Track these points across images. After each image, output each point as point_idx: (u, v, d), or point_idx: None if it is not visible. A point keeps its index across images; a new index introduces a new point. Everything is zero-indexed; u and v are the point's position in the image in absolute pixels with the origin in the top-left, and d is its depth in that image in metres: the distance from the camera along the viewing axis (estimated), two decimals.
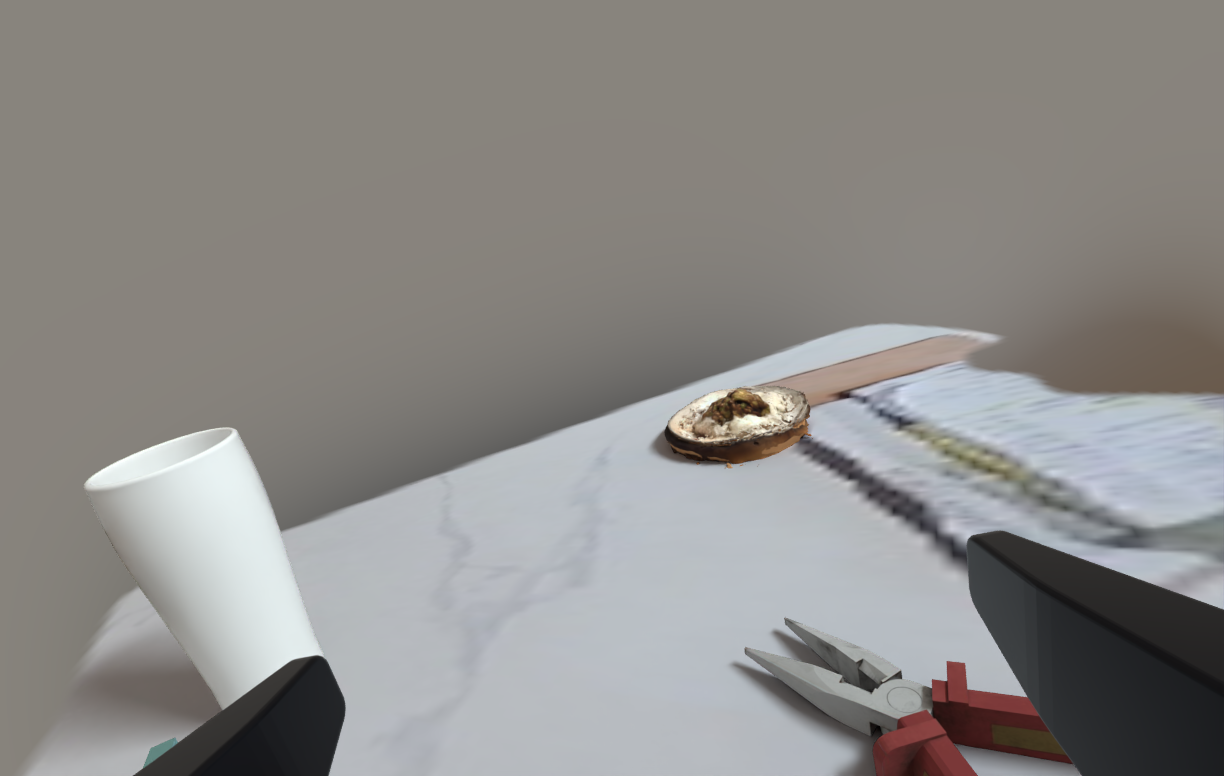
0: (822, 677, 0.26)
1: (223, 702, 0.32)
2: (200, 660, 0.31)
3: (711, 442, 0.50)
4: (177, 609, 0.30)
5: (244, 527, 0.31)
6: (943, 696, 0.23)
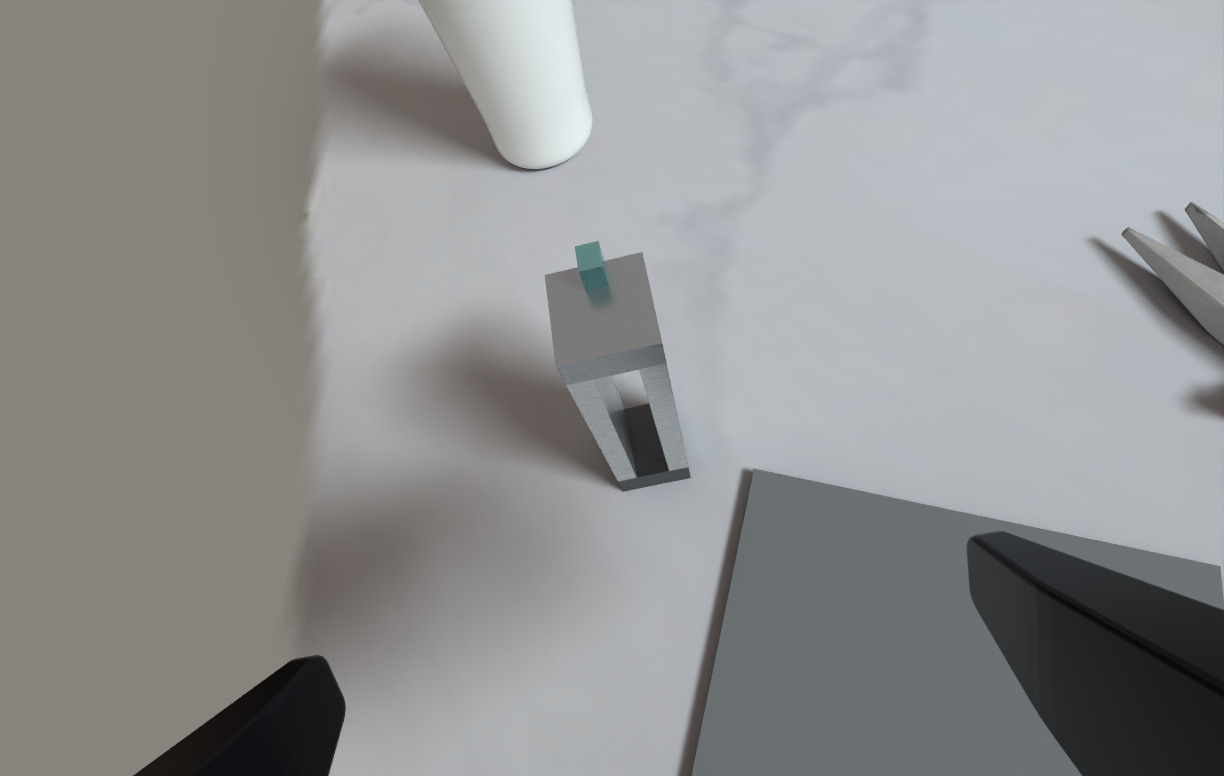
0: None
1: (501, 141, 0.31)
2: (482, 94, 0.28)
3: None
4: (463, 31, 0.25)
5: None
6: None
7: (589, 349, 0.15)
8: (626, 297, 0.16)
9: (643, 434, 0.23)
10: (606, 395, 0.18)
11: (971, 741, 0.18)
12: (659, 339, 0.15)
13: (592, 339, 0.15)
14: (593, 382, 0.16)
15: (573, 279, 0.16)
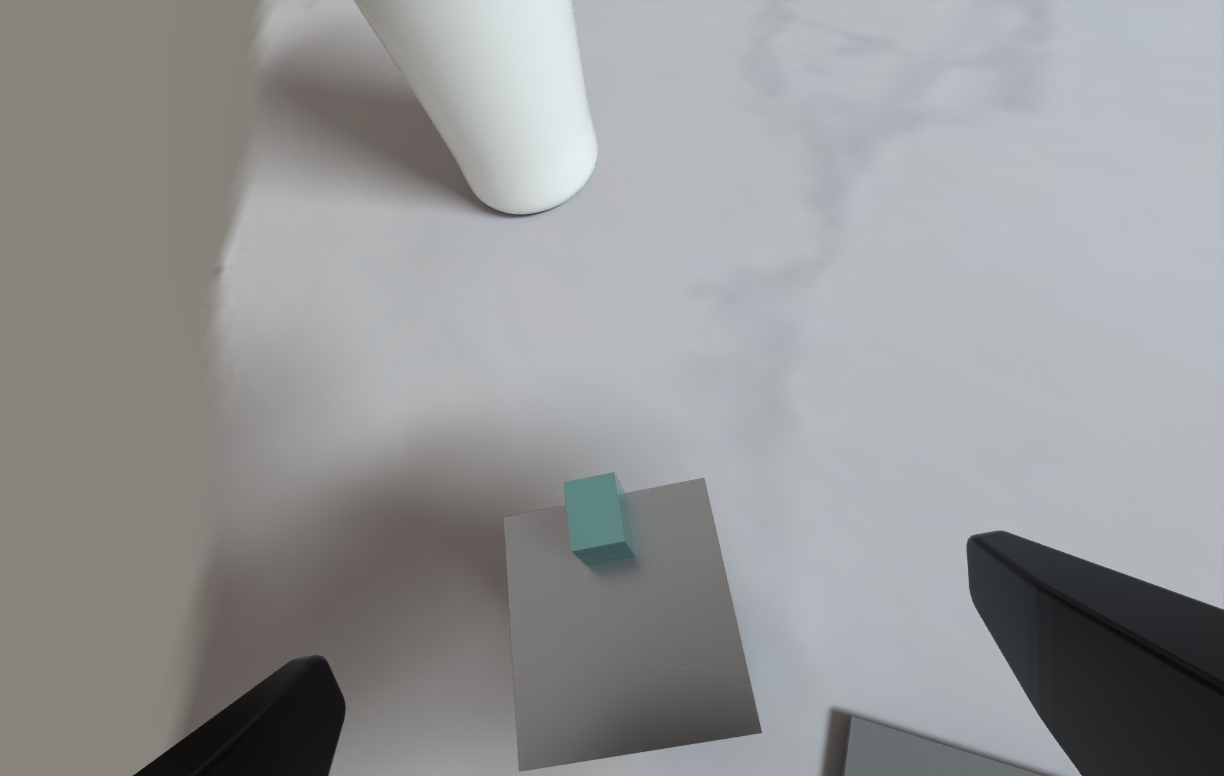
0: None
1: (474, 178, 0.23)
2: (443, 117, 0.20)
3: None
4: (406, 27, 0.17)
5: None
6: None
7: (594, 730, 0.07)
8: (674, 592, 0.07)
9: None
10: None
11: None
12: (755, 722, 0.06)
13: (601, 701, 0.07)
14: None
15: (561, 533, 0.08)
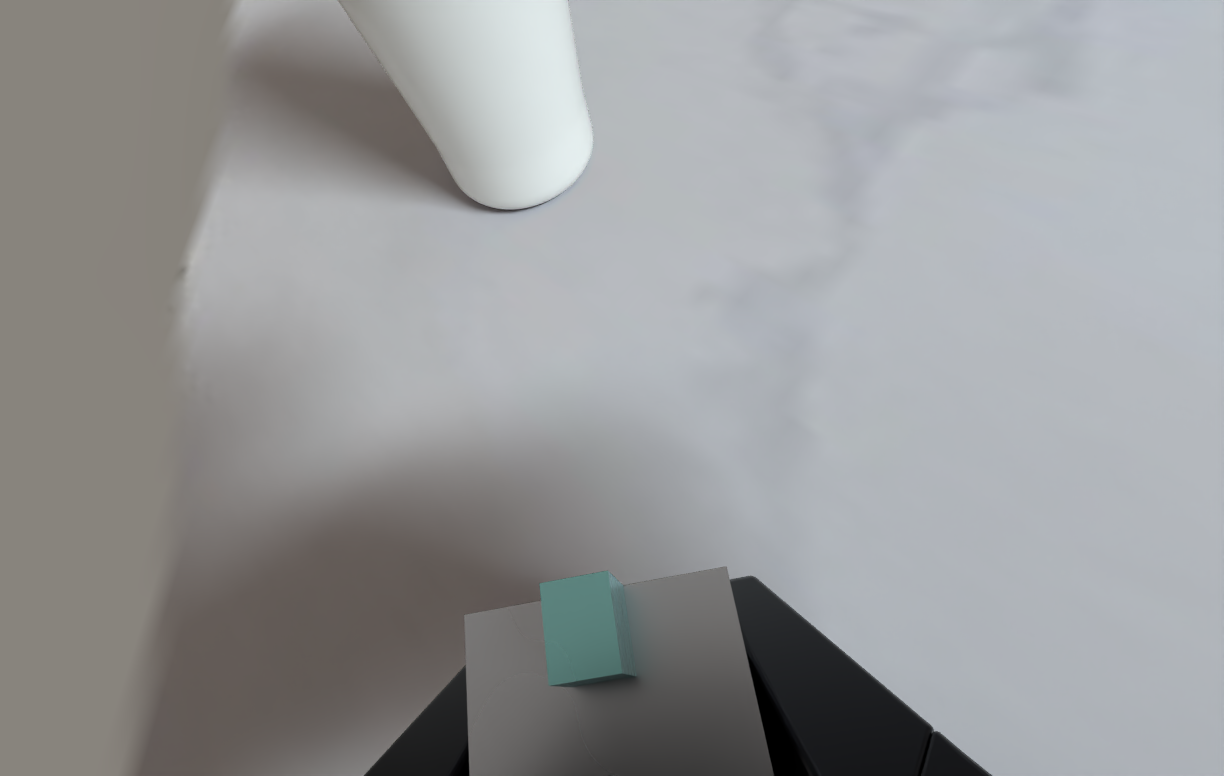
0: None
1: (457, 170, 0.21)
2: (420, 101, 0.18)
3: None
4: None
5: None
6: None
7: None
8: (688, 730, 0.05)
9: None
10: None
11: None
12: None
13: None
14: None
15: (539, 638, 0.06)
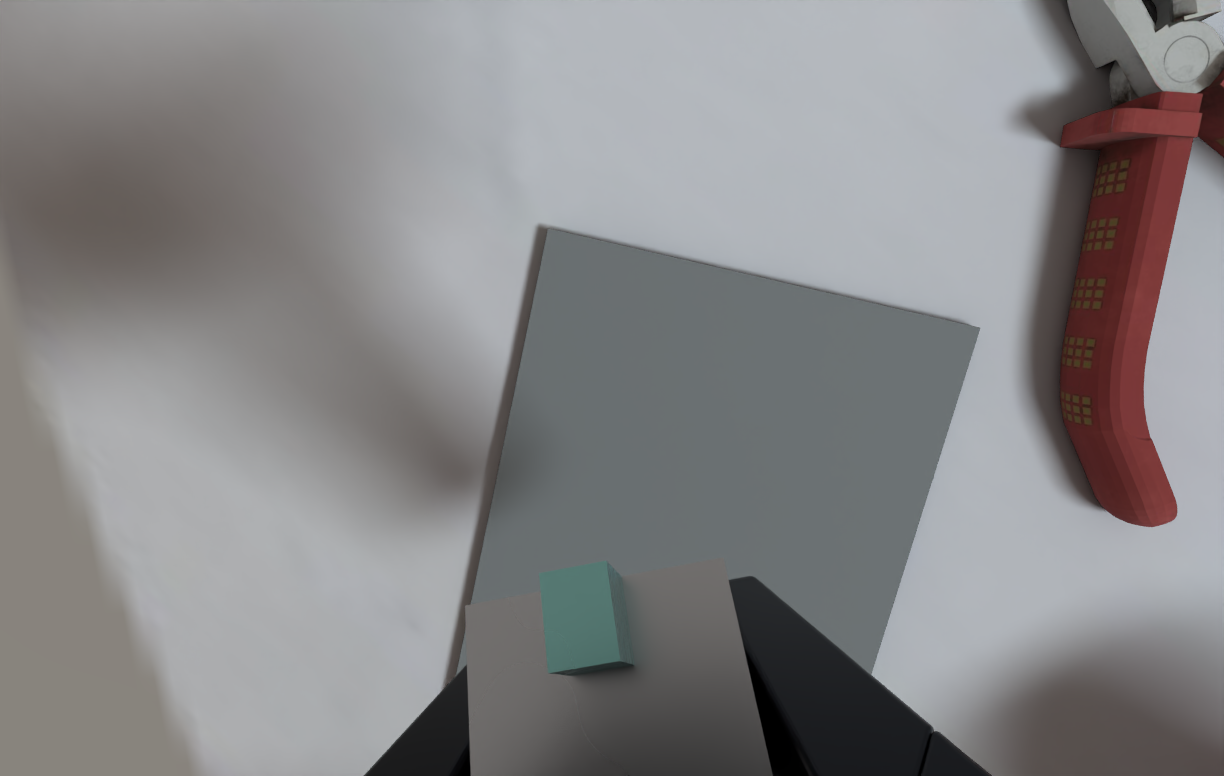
0: None
1: None
2: None
3: None
4: None
5: None
6: None
7: None
8: (686, 717, 0.05)
9: None
10: None
11: (727, 484, 0.21)
12: None
13: None
14: None
15: (538, 628, 0.06)
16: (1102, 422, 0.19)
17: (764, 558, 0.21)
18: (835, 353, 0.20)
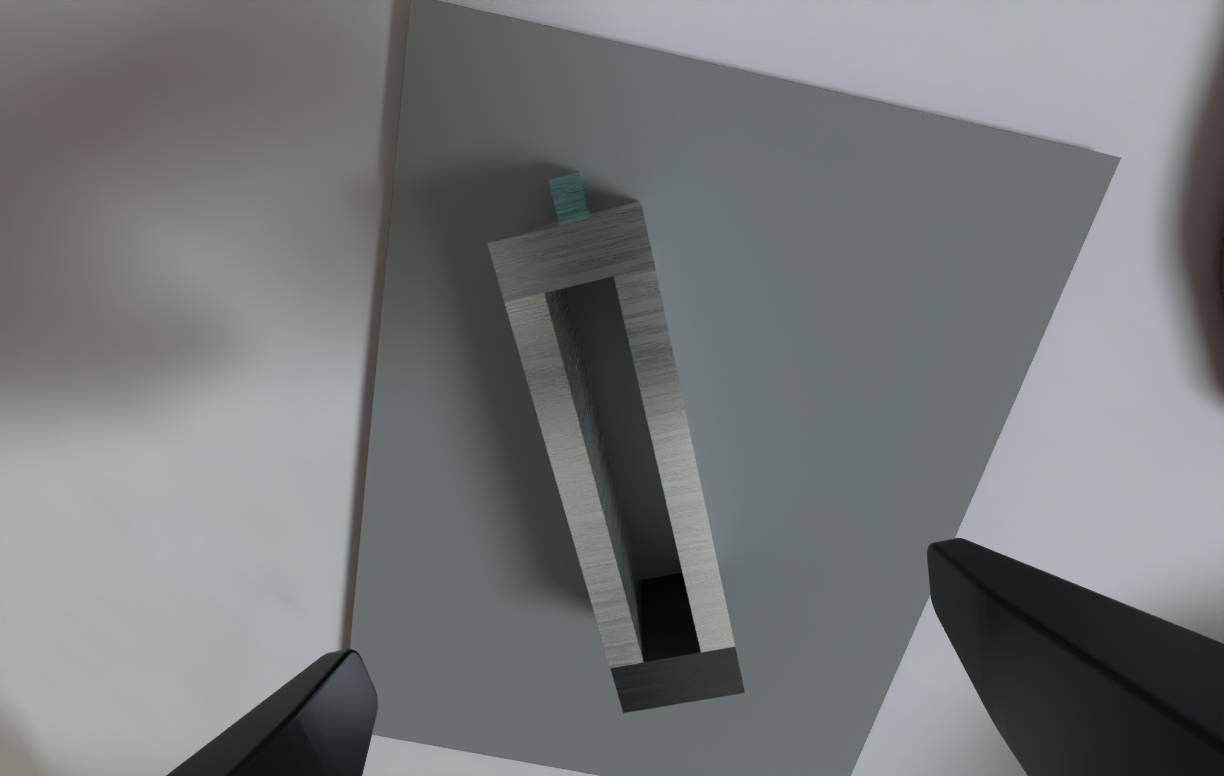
0: None
1: None
2: None
3: None
4: None
5: None
6: None
7: (539, 229, 0.10)
8: (607, 210, 0.12)
9: (664, 607, 0.14)
10: (582, 410, 0.12)
11: (711, 409, 0.14)
12: (638, 205, 0.10)
13: (548, 227, 0.11)
14: (545, 302, 0.11)
15: (548, 224, 0.13)
16: None
17: (762, 511, 0.15)
18: (883, 205, 0.13)
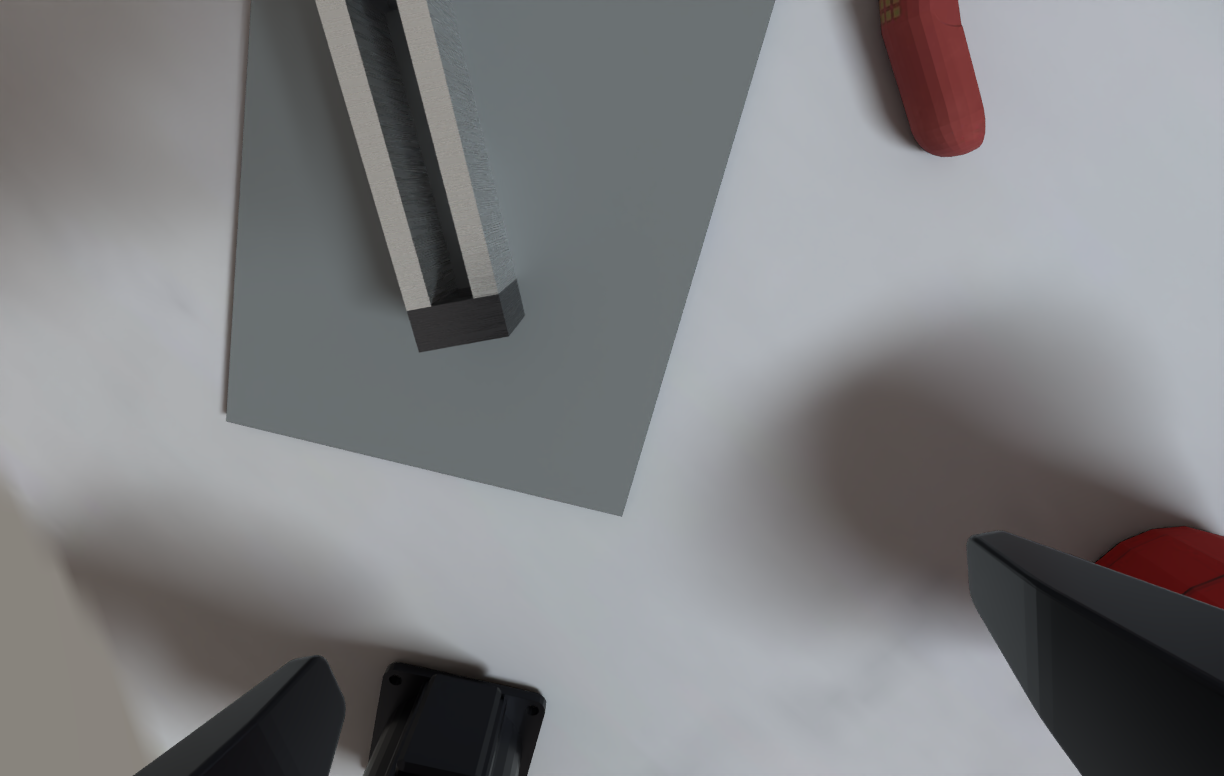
0: None
1: None
2: None
3: None
4: None
5: None
6: None
7: None
8: None
9: (464, 292, 0.19)
10: (382, 98, 0.16)
11: (504, 138, 0.18)
12: None
13: None
14: None
15: None
16: (910, 7, 0.16)
17: (549, 230, 0.19)
18: None
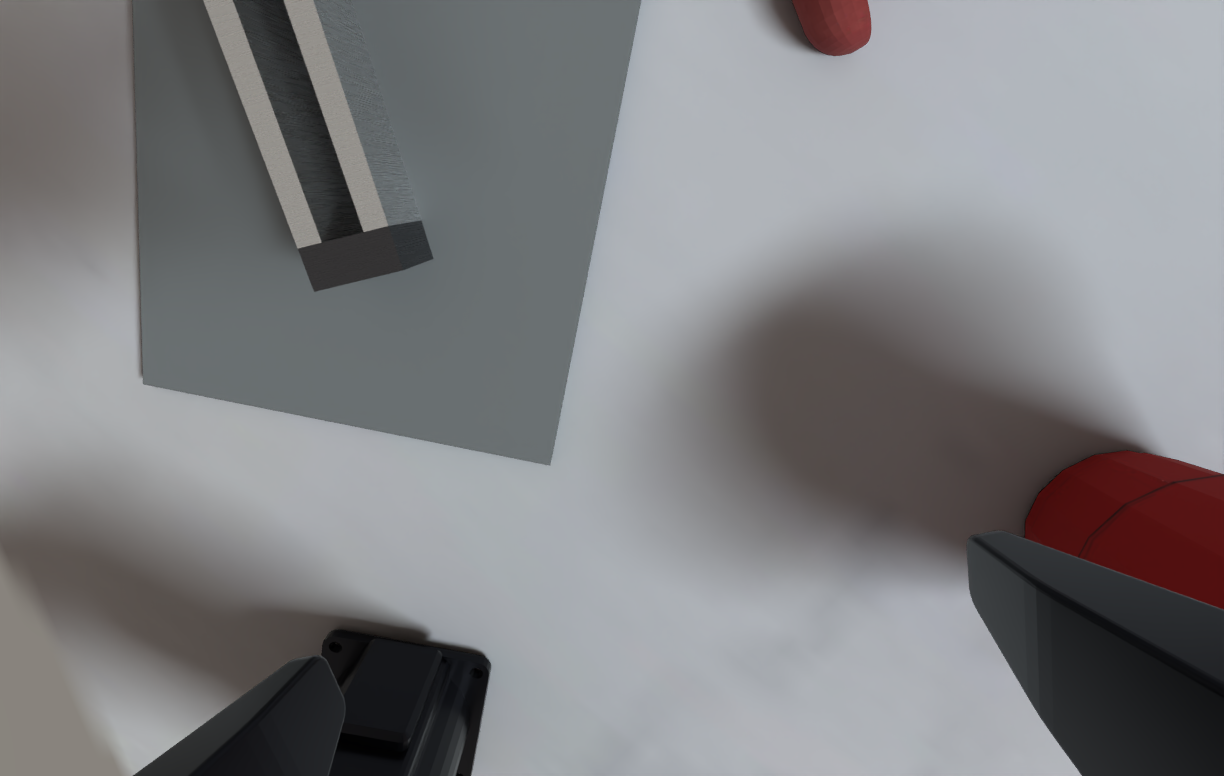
0: None
1: None
2: None
3: None
4: None
5: None
6: None
7: None
8: None
9: None
10: (258, 29, 0.16)
11: (396, 74, 0.18)
12: None
13: None
14: None
15: None
16: None
17: (450, 168, 0.19)
18: None
